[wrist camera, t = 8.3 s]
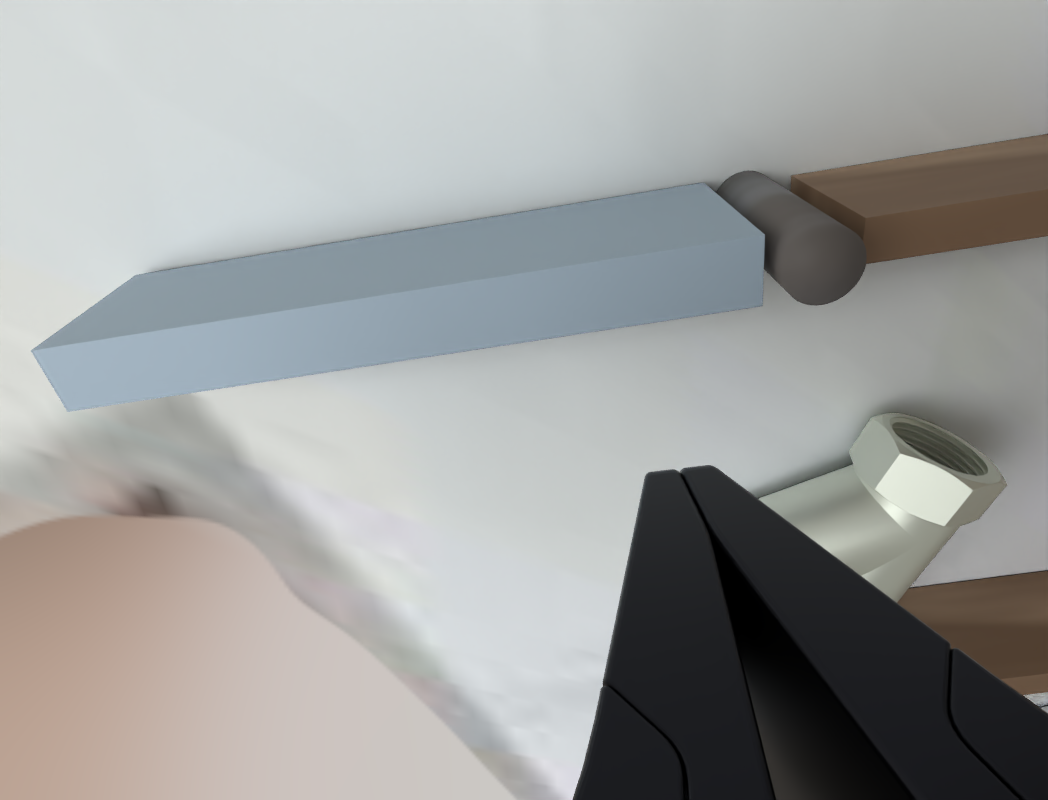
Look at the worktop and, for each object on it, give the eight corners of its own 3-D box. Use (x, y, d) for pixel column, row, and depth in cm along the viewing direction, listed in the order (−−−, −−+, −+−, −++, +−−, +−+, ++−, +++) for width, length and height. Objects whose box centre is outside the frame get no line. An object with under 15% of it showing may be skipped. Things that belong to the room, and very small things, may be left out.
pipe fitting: (662, 553, 24) (829, 596, 25) (679, 637, 21) (872, 686, 22) (762, 368, 20) (956, 426, 21) (803, 436, 17) (1032, 502, 18)
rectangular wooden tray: (1135, 578, 25) (1268, 697, 20) (715, 630, 26) (759, 756, 21) (1363, 70, 16) (1681, 92, 12) (712, 176, 17) (785, 233, 12)
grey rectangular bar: (160, 326, 18) (68, 411, 14) (135, 275, 17) (31, 350, 14) (704, 240, 17) (762, 305, 13) (703, 182, 17) (765, 234, 13)
